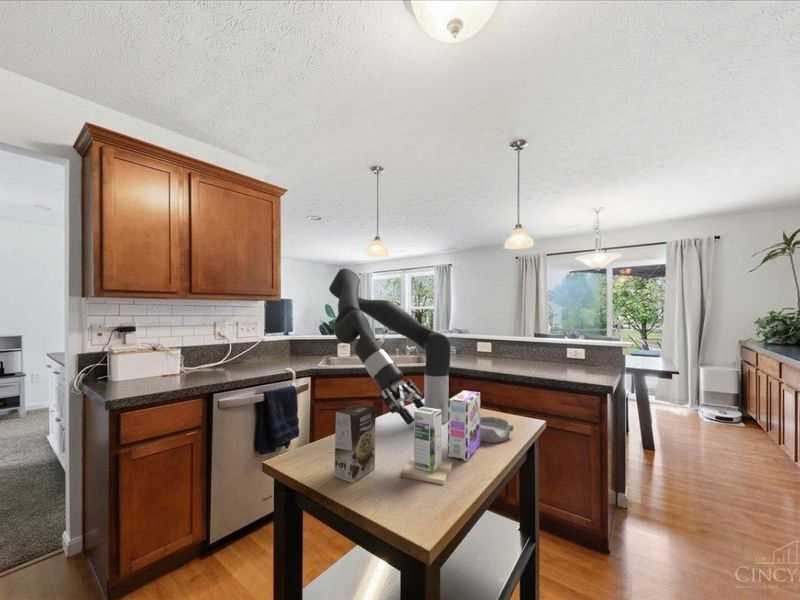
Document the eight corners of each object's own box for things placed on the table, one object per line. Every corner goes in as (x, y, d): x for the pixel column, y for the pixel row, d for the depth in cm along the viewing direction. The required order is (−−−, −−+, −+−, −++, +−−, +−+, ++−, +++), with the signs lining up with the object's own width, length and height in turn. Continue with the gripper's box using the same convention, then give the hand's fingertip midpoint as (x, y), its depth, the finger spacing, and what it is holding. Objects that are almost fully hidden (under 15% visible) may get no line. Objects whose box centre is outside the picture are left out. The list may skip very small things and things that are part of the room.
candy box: (467, 462, 91) (467, 401, 92) (447, 457, 94) (447, 398, 95) (481, 445, 103) (481, 391, 104) (462, 441, 106) (462, 389, 107)
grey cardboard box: (353, 484, 79) (354, 415, 80) (333, 477, 83) (334, 411, 83) (376, 469, 87) (376, 406, 88) (356, 463, 90) (357, 403, 91)
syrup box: (412, 468, 85) (413, 410, 86) (422, 459, 91) (422, 405, 91) (433, 473, 83) (433, 414, 83) (442, 464, 88) (442, 408, 88)
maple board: (414, 458, 93) (414, 454, 93) (453, 465, 90) (453, 461, 90) (400, 476, 83) (400, 472, 83) (443, 484, 79) (443, 480, 79)
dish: (516, 436, 112) (516, 420, 112) (499, 448, 101) (499, 431, 101) (477, 426, 121) (477, 412, 121) (457, 436, 111) (457, 421, 111)
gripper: (388, 373, 101) (421, 418, 95) (360, 382, 89) (396, 434, 83) (403, 358, 99) (439, 402, 93) (377, 364, 86) (415, 417, 80)
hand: (419, 418), depth 88 cm, fingers open, 8 cm apart
